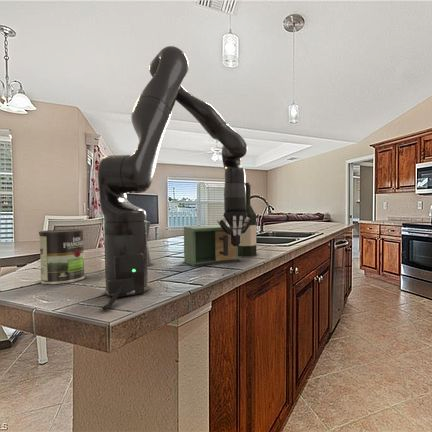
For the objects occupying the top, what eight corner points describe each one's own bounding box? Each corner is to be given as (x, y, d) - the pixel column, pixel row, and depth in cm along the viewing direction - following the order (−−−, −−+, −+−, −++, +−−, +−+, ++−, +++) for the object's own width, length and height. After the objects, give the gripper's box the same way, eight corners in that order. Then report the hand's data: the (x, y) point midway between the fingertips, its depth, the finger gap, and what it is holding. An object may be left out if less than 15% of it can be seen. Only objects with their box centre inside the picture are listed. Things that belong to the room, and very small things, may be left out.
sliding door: (242, 261, 114) (242, 231, 114) (222, 263, 110) (221, 232, 109) (235, 258, 119) (235, 230, 118) (215, 261, 114) (214, 231, 114)
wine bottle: (234, 254, 136) (233, 183, 135) (252, 252, 140) (252, 183, 139) (241, 256, 129) (240, 181, 127) (260, 255, 133) (259, 182, 131)
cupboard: (239, 261, 119) (239, 226, 118) (194, 266, 109) (193, 228, 109) (227, 257, 128) (226, 224, 128) (184, 261, 118) (183, 226, 118)
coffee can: (93, 276, 95) (92, 229, 95) (62, 285, 85) (60, 232, 84) (64, 275, 97) (62, 228, 97) (30, 283, 87) (28, 231, 87)
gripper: (221, 196, 105) (222, 248, 106) (257, 196, 113) (257, 245, 113) (212, 196, 111) (213, 246, 112) (247, 196, 119) (247, 243, 119)
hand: (235, 245), depth 113 cm, fingers closed
